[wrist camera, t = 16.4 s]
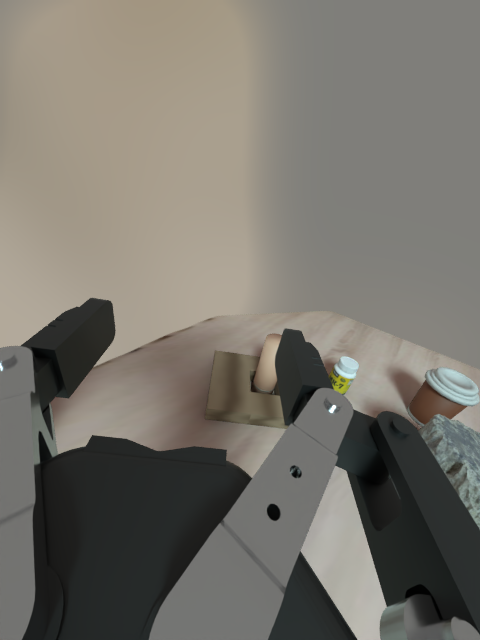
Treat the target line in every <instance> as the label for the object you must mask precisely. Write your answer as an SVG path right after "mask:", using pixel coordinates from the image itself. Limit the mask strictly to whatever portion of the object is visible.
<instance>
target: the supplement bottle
mask: <svg viewBox="0 0 480 640" xmlns="http://www.w3.org/2000/svg"><path fill="white" fill-rule="evenodd" d="M358 368H359V365H358V363H357V362H356V361H355V360H353V359H352V358H349V357H341V358H340V360H339V362H338V363H336V364H335V366H334V367H333V369H332V371H331V373H330V375H329V378H330V381H331V383H332V385H333V388H334V390H336V391H338V392H339V393H341V394H342V395H345V393H346V391H347V390H348V388H349V387H350V385H351V383H352V382H353V380H354V378H355V377H356V372H357V370H358Z"/></svg>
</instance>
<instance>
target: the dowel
mask: <svg viewBox="0 0 480 640" xmlns="http://www.w3.org/2000/svg"><path fill="white" fill-rule="evenodd" d="M281 337H282V335H279V334H269V335H267V337H266V340H265V343H264V346H263V350H262V353H261V357H260V360H259V364H258V367H257V371H256V374H255V378H254V380H253V385H252V388H251V392H255V393H262V394H270V395H272V393H273V390H274V388H275V385H276V382H277V376H276V370H275V356H276V352H277V349H278V346H279V343H280V340H281Z"/></svg>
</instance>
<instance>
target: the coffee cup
mask: <svg viewBox="0 0 480 640" xmlns="http://www.w3.org/2000/svg"><path fill="white" fill-rule="evenodd" d="M425 378H426V380H425V382H424V383H423V385H422V386H421V388H420V389H419V391H418V393H417V394H416V396H415V397H414V399H413V400H412V402H411V403H410V405H409V406H408V408H407V410H408V414H409V415H410V416H411V418H412V419H413V420H414V421H415V422H417V423H418V424H419V425H421V426H422V427H423V426H424V425H426V424H427V423H428V422H429V421H430V419H431V418H433V416H434V415H437V414H440V415H442V416H445V417H447V418H448V419H452V418H453V417H454V416H456V415H457V414H458V413H459V412H461V411H462V410H463V409H465V408H466V407H467V406H475V405H477V404H478V403H479V396H478V393H479V389H478V387H477V385H476V384H475V383H474V382H473V381H472V380H471V379H470V378H468V377H466V376H465V375H463V374H462V373H460V372H458V371H456V370H453V369H450V368H445V367H440V368H437V369H432V370H428V371H427V372H426V374H425Z"/></svg>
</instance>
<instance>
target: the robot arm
mask: <svg viewBox="0 0 480 640" xmlns="http://www.w3.org/2000/svg"><path fill="white" fill-rule="evenodd" d="M114 336H115V322H114V314H113V306H112V303H111V301H109V300H102V299H96V298H90V299H89V300H88V301H86V302H85V303H84V304H83V305H81V306H80V307H75V308H73V309H70V310H68V311H65V312H64V313H62V314H61V315H60V316H59V317H57V318H56V319H55V320H53V321H52V322H51V323H49V324H48V326H46V327H44V328H43V329H42V330H40V331H39V332H38V333H37V334H35V335H34V336H33V337H32V338H30V339H29V340H28V341H26V342H25V343H24V344H22V345H21V346H9V347H3V348H0V640H357V638H356V637H355V635H354V634H353V632H352V630H351V629H350V627H349V626H348V624H347V623H346V621H345V620H344V618H343V616H342V615H341V613H340V612H339V610H338V609H337V607H336V606H335V604H334V602H333V601H332V599H331V598H330V596H329V595H328V593H327V592H326V590H325V589H324V587H323V585H322V584H321V582H320V581H319V579H318V578H317V576H316V575H315V573H314V571H313V570H312V568H311V567H310V565H309V564H308V562H307V561H306V559H305V557H304V556H303V554H302V553H301V551H300V550H301V548H302V546H303V543H304V541H305V538H306V536H307V533H308V531H309V528H310V526H311V523H312V521H313V518H314V516H315V514H316V511H317V509H318V506H319V504H320V501H321V499H322V496H323V494H324V491H325V489H326V487H327V484H328V482H329V479H330V477H331V474H332V472H333V469H334V467H335V466H337V467H340V468H342V469H344V470H346V471H347V474H348V477H349V481H350V484H351V487H352V491H353V494H354V497H355V501H356V504H357V508H358V511H359V514H360V518H361V521H362V524H363V528H364V531H365V535H366V538H367V541H368V545H369V548H370V551H371V555H372V558H373V561H374V565H375V568H376V572H377V575H378V578H379V582H380V585H381V588H382V592H383V595H384V599H385V602H386V605H387V608H386V609H385V610H384V611H383V613H382V616H381V620H380V638H381V640H480V529H479V527H478V526H477V524H476V522H475V521H474V519H473V518H472V516H471V514H470V513H469V511H468V510H467V508H466V506H465V505H464V503H463V502H462V500H461V498H460V497H459V495H458V494H457V492H456V490H455V489H454V487H453V486H452V484H451V482H450V481H449V479H448V478H447V476H446V474H445V473H444V471H443V470H442V468H441V466H440V465H439V463H438V462H437V460H436V458H435V457H434V455H433V454H432V452H431V450H430V449H429V447H428V446H427V444H426V442H425V441H424V439H423V438H422V436H421V435H420V433H419V431H418V430H417V429H416V428H415V426H414V425H413V424H412V423H410V422H409V421H408V420H407V419H405V418H404V417H402V416H400V415H398V414H396V413H393V412H388V411H384V412H381V413H380V414H379V415H378V416H377V418H373V417H370V416H368V415H365V414H363V413H360V412H358V411H356V410H353V407H352V405H351V403H350V402H349V400H348V399H347V398H346V397H345V396H344V395H342V394H341V393H339V392H338V391H336V390H334V388H333V385H332V383H331V381H330V378H329V376H328V374H327V371H326V369H325V367H324V364H323V362H322V360H321V357H320V355H319V352H318V350H317V349H316V348H315V347H314V346H313V345H312V344H311V343H309V342H305V339H304V336H303V334H302V332H301V331H299V330H292V329H285V330H284V331H283V334H282V337H281V340H280V343H279V346H278V349H277V352H276V356H275V370H276V376H277V382H278V388H279V394H280V399H281V405H282V411H283V417H284V423H285V425H287V426H289V427H288V428H287V430H286V431H285V433H284V434H283V435H282V437H281V438H280V440H279V441H278V443H277V444H276V445H275V447H274V448H273V450H272V451H271V453H270V454H269V455H268V457H267V458H266V460H265V461H264V463H263V464H262V465H261V467H260V468H259V470H258V471H257V473H256V474H255V475H254V477H253V478H251V477H250V476H249V475H248V474H247V473H246V472H245V471H244V470H242V469H241V468H240V467H238V466H236V465H235V464H233V463H231V462H229V461H226V452H227V450H223V449H213V448H204V447H188V448H181V449H174V450H167V451H155V450H153V449H150V448H148V447H145V446H143V445H140V444H138V443H135V442H133V441H130V440H128V439H122V438H113V437H104V436H94V435H92V437H91V438H90V440H89V442H88V444H87V445H86V447H80V448H76V449H72V450H69V451H66V452H63V453H61V454H59V455H58V451H57V445H56V437H55V429H54V421H53V413H52V407H51V404H50V402H51V401H52V400H53V399H54V398H55V397H62V398H69V397H70V396H71V395H72V394H73V392H74V391H75V390H76V388H77V387H78V386H79V384H80V383H81V382H82V381H83V379H84V378H85V377H86V375H87V374H88V373H89V372H90V370H91V369H92V368H93V366H94V365H95V364H96V362H97V361H98V360H99V359H100V357H101V356H102V355H103V353H104V352H105V351H106V350H107V348H108V347H109V346H110V344H111V343H112V341H113V339H114ZM392 481H393V482H392ZM393 483H394V484H393ZM394 485H395V486H394ZM395 488H396V489H395ZM396 490H397V491H396ZM397 492H398V493H397ZM399 497H400V498H399Z"/></svg>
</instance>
